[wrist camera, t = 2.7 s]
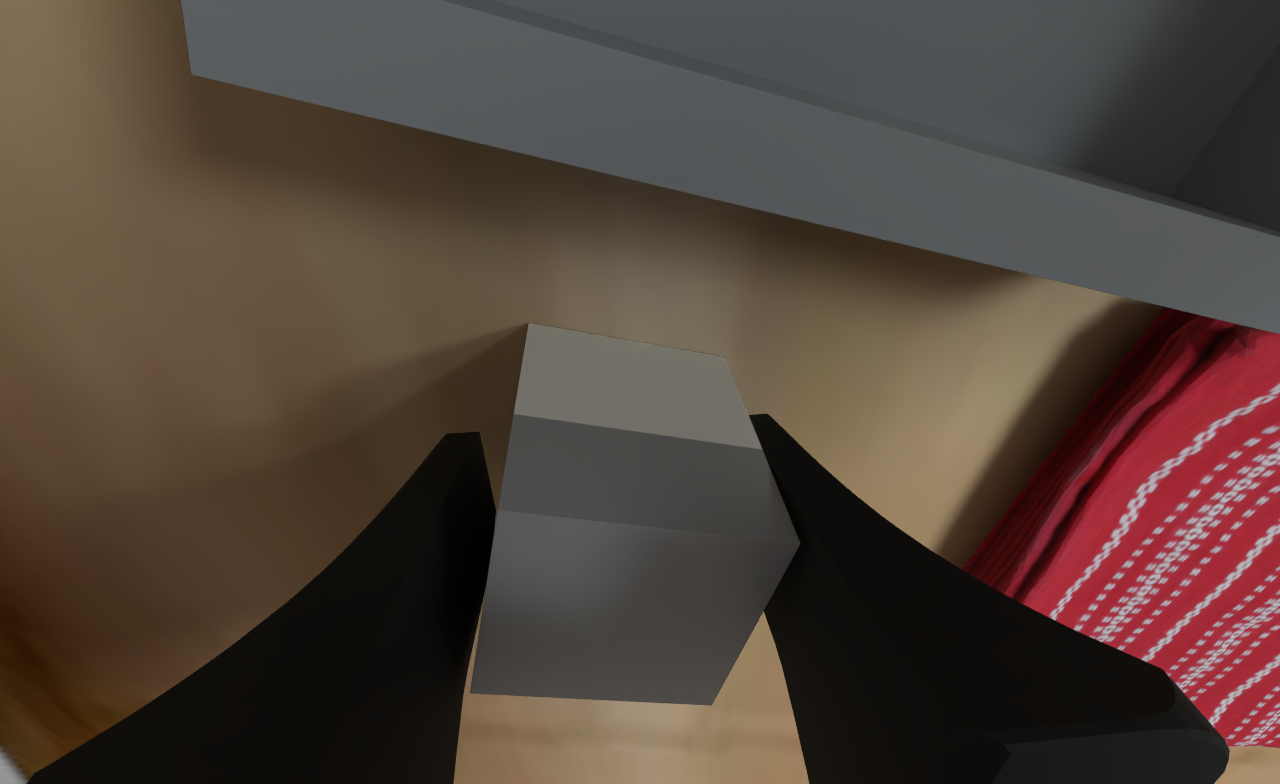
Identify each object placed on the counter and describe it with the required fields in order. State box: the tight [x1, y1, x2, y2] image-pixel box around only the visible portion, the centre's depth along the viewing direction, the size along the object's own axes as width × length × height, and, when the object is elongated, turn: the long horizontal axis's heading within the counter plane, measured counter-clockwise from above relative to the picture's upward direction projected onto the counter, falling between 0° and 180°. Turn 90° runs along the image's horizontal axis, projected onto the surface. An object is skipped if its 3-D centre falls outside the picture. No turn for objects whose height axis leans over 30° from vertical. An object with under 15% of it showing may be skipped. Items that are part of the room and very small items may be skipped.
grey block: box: [470, 323, 800, 705], centre depth 11 cm, size 4×4×5 cm
